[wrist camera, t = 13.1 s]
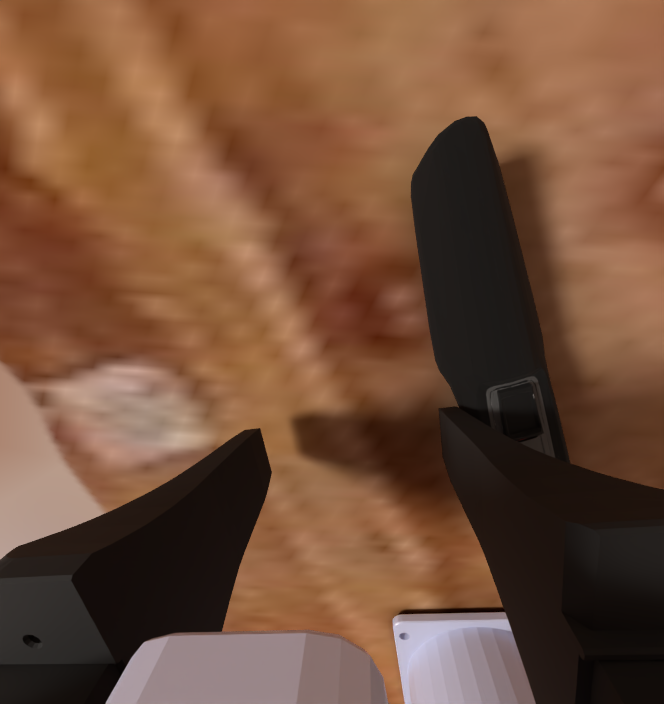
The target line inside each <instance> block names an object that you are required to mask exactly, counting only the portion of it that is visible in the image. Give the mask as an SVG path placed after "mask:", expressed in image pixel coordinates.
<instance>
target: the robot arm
mask: <svg viewBox="0 0 664 704" xmlns="http://www.w3.org/2000/svg"><path fill="white" fill-rule="evenodd" d="M439 418H440V430H441V442H442V454H443V459H444V462H445V465H446V469H447V472H448V475H449V478H450V481H451V483H452V485H453V487H454V490H455V492H456V494H457V496H458V498H459V500H460V502H461V504H462V507H463V509H464V511H465V513H466V515H467V517H468V519H469V521H470V523H471V525H472V528H473V530H474V532H475V534H476V536H477V538H478V540H479V543H480V545H481V547H482V550H483V552H484V554H485V557H486V560H487V563H488V565H489V568H490V571H491V574H492V576H493V579H494V582H495V585H496V587H497V590H498V593H499V596H500V599H501V602H502V604H503V607H504V610H505V612H481V613H437V614H400V615H397V616H395V617H394V618H393V630H394V637H395V643H396V649H397V656H398V662H399V669H400V675H401V682H402V688H403V694H404V701H405V704H664V490H663V489H658V488H653V487H649V486H645V485H641V484H637V483H633V482H629V481H625V480H622V479H618V478H614V477H611V476H607V475H604V474H600V473H597V472H594V471H591V470H588V469H585V468H582V467H579V466H576V465H573V464H570V463H567V462H564V461H561V460H559V459H556V458H554V457H551V456H549V455H546V454H544V453H542V452H539V451H537V450H534V449H532V448H530V447H528V446H525V445H523V444H521V443H519V442H517V441H515V440H513V439H511V438H509V437H507V436H506V435H504V434H502V433H500V432H498V431H496V430H495V429H493V428H491V427H489V426H488V425H486V424H484V423H483V422H481V421H479V420H478V419H476V418H475V417H473V416H471V415H470V414H468V413H466V412H465V411H463V410H462V409H460V408H458V407H447V408H439ZM271 473H272V471H271V468H270V464H269V460H268V456H267V453H266V449H265V445H264V441H263V438H262V434H261V430H260V428H259V429H250V430H244V431H243V432H241V433H239V434H238V435H236V436H235V437H233V438H232V439H230V440H229V441H227V442H226V443H225V444H223V445H222V446H220V447H219V448H218V449H216V450H215V451H213V452H212V453H211V454H209V455H208V456H207V457H205V458H204V459H202V460H201V461H199V462H198V463H196V464H195V465H193V466H192V467H190V468H189V469H187V470H186V471H184V472H183V473H181V474H180V475H178V476H177V477H175V478H173V479H172V480H170V481H168V482H167V483H165V484H163V485H161V486H160V487H158V488H156V489H154V490H153V491H151V492H149V493H147V494H145V495H143V496H141V497H139V498H137V499H135V500H133V501H131V502H129V503H127V504H125V505H123V506H121V507H119V508H117V509H115V510H112V511H110V512H108V513H106V514H103V515H101V516H99V517H96V518H94V519H91V520H89V521H87V522H84V523H82V524H79V525H77V526H74V527H72V528H69V529H67V530H64V531H61V532H58V533H55V534H52V535H49V536H47V537H44V538H41V539H38V540H35V541H32V542H30V543H27V544H24V545H21V546H18V547H16V548H15V549H13V550H12V551H10V552H9V553H8V554H6V555H5V556H4V557H3V558H2V559H1V560H0V704H389V703H388V700H387V695H386V690H385V684H384V679H383V676H382V675H381V673H380V671H379V670H378V668H377V666H376V665H375V663H374V661H373V660H372V658H371V656H370V655H369V654H368V653H367V652H366V651H365V650H364V649H363V648H361V647H359V646H357V645H356V644H354V643H352V642H351V641H349V640H347V639H345V638H344V637H342V636H340V635H337V634H331V633H324V632H318V631H312V630H283V631H236V632H222V628H223V625H224V621H225V617H226V613H227V609H228V605H229V601H230V597H231V594H232V590H233V587H234V583H235V580H236V576H237V573H238V569H239V566H240V563H241V560H242V557H243V555H244V552H245V549H246V547H247V544H248V542H249V539H250V537H251V534H252V532H253V529H254V526H255V524H256V521H257V519H258V516H259V514H260V511H261V509H262V506H263V503H264V501H265V498H266V495H267V491H268V487H269V482H270V478H271Z"/></svg>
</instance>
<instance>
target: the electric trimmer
mask: <svg viewBox="0 0 664 704" xmlns="http://www.w3.org/2000/svg"><path fill="white" fill-rule="evenodd" d="M411 200H412V208H413V216H414V225H415V233H416V240H417V247H418V253H419V260H420V267H421V274H422V281H423V288H424V294H425V301H426V308H427V315H428V322H429V329H430V334H431V340H432V345H433V350H434V356H435V361H436V363H437V366H438V368H439V371H440V372H441V374H442V375H443V376H444V378H445V379H446V381H447V382H448V384H449V385H450V387H451V389H452V392H453V394H454V396H455V399H456V401H457V403H458V406H459V408H460V409H462V410H463V411H465V412H466V413H468V414H470V415H471V416H473V417H475V418H476V419H478V420H479V421H481V422H483V423H484V424H486V425H488V426H489V427H491V428H493V429H495V430H496V431H498V432H500V433H502V434H504V435H506V436H507V437H509V438H511V439H513V440H515V441H517V442H519V443H521V444H523V445H525V446H528V447H530V448H532V449H534V450H537V451H539V452H542V453H544V454H546V455H549V456H551V457H554V458H556V459H559V460H561V461H564V462H567V463H570V460H569V455H568V451H567V447H566V443H565V439H564V435H563V430H562V426H561V422H560V418H559V414H558V410H557V405H556V401H555V397H554V393H553V390H552V386H551V382H550V378H549V374H548V370H547V365H546V360H545V353H544V346H543V338H542V333H541V328H540V324H539V320H538V316H537V312H536V307H535V303H534V299H533V295H532V291H531V287H530V283H529V279H528V275H527V271H526V267H525V263H524V259H523V255H522V251H521V247H520V243H519V239H518V235H517V231H516V227H515V224H514V220H513V216H512V212H511V208H510V204H509V200H508V196H507V193H506V189H505V185H504V181H503V178H502V174H501V170H500V166H499V163H498V160H497V157H496V154H495V151H494V148H493V145H492V142H491V139H490V136H489V133H488V131H487V128H486V126H485V124H484V122H482V121H481V120H480V119H479V118H478V117H477V116H476V117H465V118H462V119H459V120H456V121H454V122H453V123H452V124H451V125H450V126H448V127H447V128H446V129H445V130H443V131H442V132H441V133H440V134H438V136H437V137H436V138H435V140H434V141H433V142H432V144H431V145H430V147H429V148H428V150H427V151H426V153H425V155H424V157H423V158H422V160H421V162H420V164H419V165H418V167H417V169H416V170H415V172H414V174H413V177H412V181H411Z"/></svg>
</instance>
